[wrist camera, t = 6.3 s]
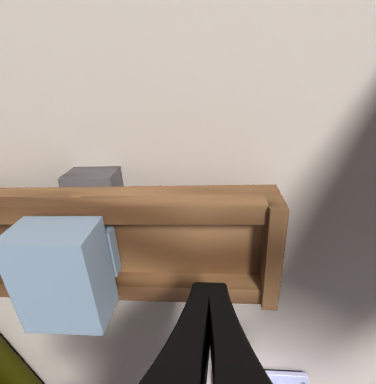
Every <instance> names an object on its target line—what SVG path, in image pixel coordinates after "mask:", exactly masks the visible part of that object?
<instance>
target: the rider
mask: <svg viewBox="0 0 376 384" xmlns="http://www.w3.org/2000/svg"><path fill="white" fill-rule="evenodd" d="M121 268H122V266H121V261H120V256H119V250H118V245H117V240H116V234H115V229H114V225H104V221H103V216H23V217H22V218H21V219H20V220H18V221H17V222H16V223H15V224H14V225H12V226H11V227H10V228H9V229H7V230H6V231H5V232H4V233H2V234H1V235H0V275H1V277H2V280H3V282H4V285H5V287H6V289H7V292H8V294H9V296H10V299H11V301H12V304H13V306H14V308H15V311H16V313H17V315H18V318H19V320H20V323H21V325H22V327H23V330H24V332H25V333H42V334H67V335H92V336H104V334H105V331H106V329H107V326H108V324H109V321H110V319H111V316H112V314H113V311H114V309H115V306H116V304H117V301H118V299H119V295H118V290H117V286H116V281H115V277H118V274H119V272H120V270H121Z"/></svg>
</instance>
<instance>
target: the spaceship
mask: <svg viewBox="0 0 376 384" xmlns="http://www.w3.org/2000/svg"><path fill="white" fill-rule="evenodd" d="M0 384H43V383H42V382H41V381H40V380H39V379H38V377H37V376H36V375H35V374H34V373H33V372H32V371H31V369H30V368H29V367H28V366H27V365H26V364H25V363H24V361H23V360H22V359H21V358H20V357H19V356H18V355H17V353H16V352H15V351H14V350H13V349H12V348H11V347H10V345H9V344H8V343H7V342H6V341H5V340H4V339H3V337H2V336H1V335H0Z"/></svg>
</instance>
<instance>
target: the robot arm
mask: <svg viewBox="0 0 376 384" xmlns="http://www.w3.org/2000/svg"><path fill="white" fill-rule="evenodd" d="M210 349H211V361H212V374H213V384H308V382H309V378H308V375H307V374H306V373H304V372H288V371H268V370H264V368H263V367H262V365H261V363H260V362H259V360H258V358H257V356H256V355H255V353H254V351H253V349H252V347H251V345H250V343H249V341H248V340H247V338H246V336H245V333H244V331H243V329H242V327H241V325H240V323H239V320H238V318H237V316H236V313H235V311H234V308H233V305H232V303H231V300H230V296H229V293H228V289H227V285H226V284H225V283H212V282H195V283H193V284H192V288H191V291H190V294H189V297H188V300H187V302H186V304H185V307H184V309H183V311H182V313H181V315H180V317H179V320H178V322H177V324H176V326H175V328H174V329H173V331H172V333H171V335H170V337H169V338H168V340H167V342H166V344H165V345H164V347H163V349H162V350H161V352H160V353H159V355H158V357H157V358H156V360H155V361H154V363H153V364H152V366H151V367H150V368H149V370H148V371H147V373H146V374H145V375H144V377H143V378H142V380H141V381H140V382H139V384H206V381H207V371H208V360H209V350H210Z"/></svg>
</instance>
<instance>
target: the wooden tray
mask: <svg viewBox="0 0 376 384" xmlns="http://www.w3.org/2000/svg"><path fill="white" fill-rule="evenodd" d="M58 183H59V186H60V187H48V188H0V235H1V234H2V233H4V232H5V231H6V230H7V229H9V228H10V227H11V226H12V225H14V224H15V223H16V222H17V221H18V220H20V219H21V218H22V217H23V216H103V221H104V225H114V229H115V234H116V240H117V245H118V250H119V256H120V261H121V266H122V268H121V270H120V272H119V274H118V277H115V281H116V286H117V290H118V295H119V299H118V300H133V301H169V302H187V300H188V297H189V294H190V291H191V288H192V284H193V283H195V282H212V283H225V284H226V285H227V289H228V293H229V296H230V300H231V303H242V304H261V308H262V310H278V302H279V293H280V285H281V276H282V268H283V259H284V251H285V242H286V234H287V225H288V217H289V208H288V207H287V205H286V203H285V201H284V199H283V197H282V195H281V193H280V191H279V189H278V188H277V186H276V185H211V186H130V187H124V186H123V180H122V174H121V167H120V166H111V167H73V168H72V169H71V170H69V171H68V172H67V173H65V174H64V175H63V176H61V177H60V178H59V179H58ZM0 297H10V296H9V294H8V292H7V289H6V287H5V285H4V282H3V280H2V277H1V275H0Z"/></svg>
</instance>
